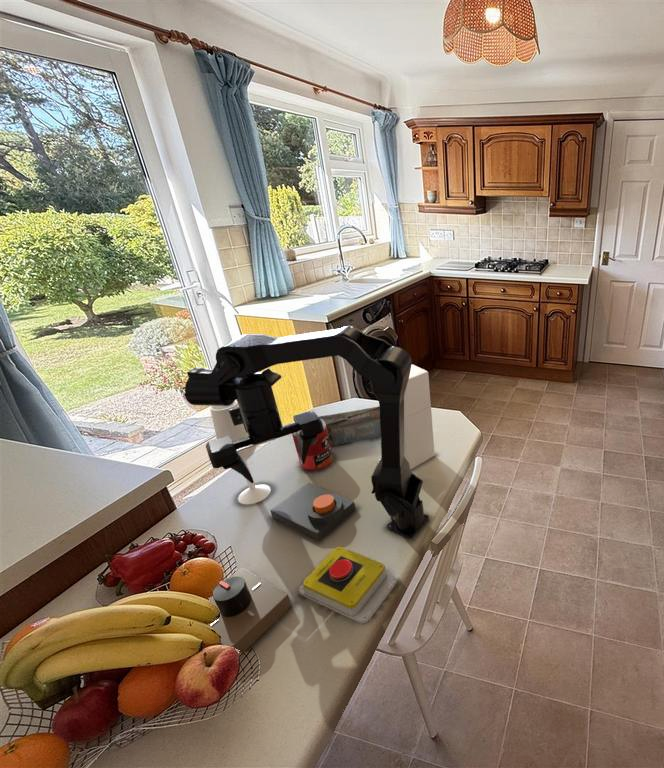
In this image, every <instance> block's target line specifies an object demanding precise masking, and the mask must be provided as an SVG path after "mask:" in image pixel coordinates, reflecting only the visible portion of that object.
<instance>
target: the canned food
mask: <svg viewBox="0 0 664 768" xmlns="http://www.w3.org/2000/svg"><path fill="white" fill-rule="evenodd" d="M320 420H321V422H322V424H323V428H324V431H323V432H322V433H320V434H318V437H317V438H315V439H313V441H312V444H311V446H310V448H309V450H308V454H307V457H306V461H305V464H302V462H301V460H300V456H299V450H298V442H297V436H296V433H292V434H291V435H292V440H293V443H294V446H295V450H296V454H297V457H298V461H299V465H300V466H301V468H303V470H306V471H311V472H312V471H319V470H322V469H325V468H327V467H328V466H330V465H331V463H332V462H333V458H334V455H333V450H332V446H331V445H330V441H329V436H328V431H327V427H326V424H325V421H323V420H322V419H320Z"/></svg>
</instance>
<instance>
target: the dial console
mask: <svg viewBox="0 0 664 768" xmlns="http://www.w3.org/2000/svg"><path fill="white" fill-rule="evenodd" d="M235 576H239V577H242V578H243V579H244V580H245V582H246V585H247V587H248V590H249V592H250V594H251V602H250V604H249V606H248V607H247V608H246V609H245V610H244V611H243V612H241V613H239V614H238V615H235V616H232V617H225V616H223V615H221V613H220V617H219V618H218V619H217V620H215V621H214V622H212V623H210V624H209V625H210V626H211V627H212V628H213V629H214V630H215V631H217V632H218V633H219V635H220V636H221V642H220V644H223V645H227V646H231V647H234V648H236V649H238V650H240V651H239V652H240V653H241V655H243V654H244V653H245V652H247V650H248V649H249V648H250V647H251V646H252V645H253V644H254V643H255V642H256V641H257V640H258V639H260V637H262V635H263V634H264V633H265V632H266V631H267V630H269V628H270V627H272V625H274V623H276V621H277V620H279V619H280V618H281V617H282V616H283V615H284V613H286V612H287V611H288V610H289V609H290V608H291V607H292V602H291V600H290V597H289V594H288V593H286V592H284V591H283V590H281V589H280V588H277V587H276V586H274V585H272V584H271V583H269V582H267V581H266V580H264V579H263V578H261V577H259V576H258V575H256V574H254V573H252V572H251V571H249V570H247V569H246V568H244V567H240V568H239V569H238V570H237V571H235V572H234V573H232V574H231V575H230V576H229V577H228V578H230V577H235ZM208 599H209V600H210V601H211V602H213V604H214V605H215V606H217V605H216V603H215V600H214V598H213V596H212V597H210V598H208ZM217 608H218V607H217ZM219 612H220V611H219Z"/></svg>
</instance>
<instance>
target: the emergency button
mask: <svg viewBox="0 0 664 768" xmlns="http://www.w3.org/2000/svg"><path fill="white" fill-rule="evenodd" d="M397 582H398V580H397V577H396V575H393V574H392V573H388V572H387V570H386V566H385V564H384V563H382V562H380V561H377V560H375V559H372V558H370V557H368V556H365V555H363V554H360V553H358V552H355V551H353V550H350V549H348V548H345V547H343V546H336V547H335V548H334V549H333V550H332V551H331V552H330V553H329V554H328V555H327V556H326V557H325V558H324V559H323V560H322V561H321V562H320V563H319V564H318V565H317V566H316V567H315V568H314V569H313V570H312V572H310V574H309V575H307V577H305V579H304V580H303V583H302V584H301V585H300V587H299V588H298V591H299V594H300V595H301V596H302V597H305V598H307V599H308V600H311V601H313V602H315V603H317V604H319V605H321V606H323V607H326V608H327V609H330V610H332V611H334V612H335V613H338V614H339V615H342V616H344V617H347V618H348V619H350V620H353V621H354V622H357V623H358V624H367V623H368V622H369V621H370V620H371V619H372V617H373V616H374V614H375V613H376V612H377V611H378V609H379V608H380V607H381V605H382V604H383V602H384V601H385V600H386V598H387V597H388V596H389V594H390V593H391V591H392V590H393V589H394V588H395V586H396V585H397Z"/></svg>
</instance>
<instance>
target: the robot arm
mask: <svg viewBox="0 0 664 768" xmlns="http://www.w3.org/2000/svg"><path fill="white" fill-rule="evenodd" d="M337 356H338V357H340V358H342V359H344V360H345V361H346V362H347V363H348V364H349V365H350V367H352V369H353V370H355V372H356V373H357V374H358V375H359V376H361V377H363V378H364V379H366V380H368V381H369V383H370V387H371V391H372V393H373V395H374V397H375V398H376V399H377V401H378V405H379V406H378V407H379V408H380V433H381V436H380V454H381V456H380V458H379V459H378V461H377V463H376V466H375V468H374V470H373V471H372V475H371V477H370V478H371V479H370V480H371V484H372V490H371V492H370V493H371V494H372V495H374V498H375V500H376V501H377V502H380V504H381V505H382V507H383V509H384V510H385V511H386V513H387V515H388V516H389V517H390V522H389V523H387V524H386V528H387V529H388V530H390V531H393V532H395V533H397V534H400V535H402V536H404V537H406V538H408V539H412V538H413V537H414V536H415V535H416V534H417V533H418V531H420V529H421V528H422V527H423V526H424V525H425V524H426V523H427V521H429V519H430V515H427V514H426V513H424V504H423V500H421V499H420V498H421V497H420V494H421V490H422V487H423V485H424V484H423V483H424V481H423V480H422V479H421V478H420V477H418V476H417V475H415V474H414V473H413V472H412V471H411V470H412V469H411V470H410V466H409V463H408V461H407V460H406V458H405V455H404V394H405V391H406V387H407V383H408V380H409V375H410V370H411V365H412V364H413V360H412V356H411V354H410V353H408V352H407V351H406V350H405V349H403V348H401V347H399V346H395V345H392V344H391V343H389V342H388V341H386V340H385V339H383V338H379V337H376V336H373V335H370V334H367V333H365V332H363V330H360V329H359V328H357V327H354V325H353V326H351V325H346V326H343V327H341V328H335V329H327V330H321V331H313V332H306V333H301V334H294V335H287V336H279V337H278V336H270V335H267V334H262V333H261V334H257V333H256V334H255V333H244V334H242V335H240V336H237V337H236V338H234V339H233V340H231V341H229V342H228V343H226V344H224V345H222V346H221V347H219V348H218V349H216V353H215V361H216V363H215V365H214V367H213V368H205V367H194V368H191V369H190V370H188V371H187V372H186V375H187V377H188V379H187V381H186V383H185V386H184V393H183V396H184V398H185V400H186V401H187V402H188V404H190V405H192V406H209V407H210V406H229V405H231V404H233V402H234V401H235V400H237V403H238V406H239V407H237V408H234V409H230V410H228V411H229V414H230V417H231V419H232V422H233V425H234V426H237V425H240V424H243V425H244V428H245V431H246V433H248V436H249V437H246V438H243V439H240V440H237V441H233V442H232V439H231V437H230V435H228V436H225V437H222V438H219V439H217V438H216V439H212V440H209V441H207V442H206V444H205V449H206V452H207V456H208V458H209V461H210V464H211V466H212V468H213V469H220V468H222V469H223V470H229V469H232V470H233V471H235V472H236V473H239V474H240V475H241V476H243V477H244V478H245V480H246V479H247V480H248V481H250V482H251V483H254V484H255V480H254V478H253V476H251V475H252V473H251V470H250V469H249V470H250V471H249V470H248V468H247V466H246V464H245V463H244V461H243V459H242V457H241V456H240V454H239V452H238V451H241V450H244V449H247V448H250V447H253V446H257V447H258V446H260V445H262V444H265V443H269V442H271V441H275V440H276V439H281V438H283V437H286V436H289V435H292V433H296V436H297V442H298V450H299V456H300V460H301V462H302V464H305V461H306V457H307V454H308V450H309V448H310V446H311V444H312V441H313V439H315V438H317V437H318V434H320V433H322V432H323V431H324V428H323V424H322V422H321V420H320V418H319V416H318V414H317V413H316V412H315V411H313V410H307V411H304V412H300V413H297V414H295V415H293V416H292V418H293V422H291V423H288V424H285V425H283V423H282V419H281V415H280V411H279V408H278V405H277V401H276V397H275V395H274V391H273V386H274V385H275V384H276V383H277V382H279V381H280V380H281V379H282V375H281V374H279V373H277V372H276V371H272V370H271V369H270V367H274V366H277V365H280V364H282V365H283V364H288V363H294V362H302V361H311V360H316V359H323V358H324V359H325V358H330V357H337ZM370 356H373V357H375V358H376V359H373V358H372V357H370ZM247 480H246V481H247Z"/></svg>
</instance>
